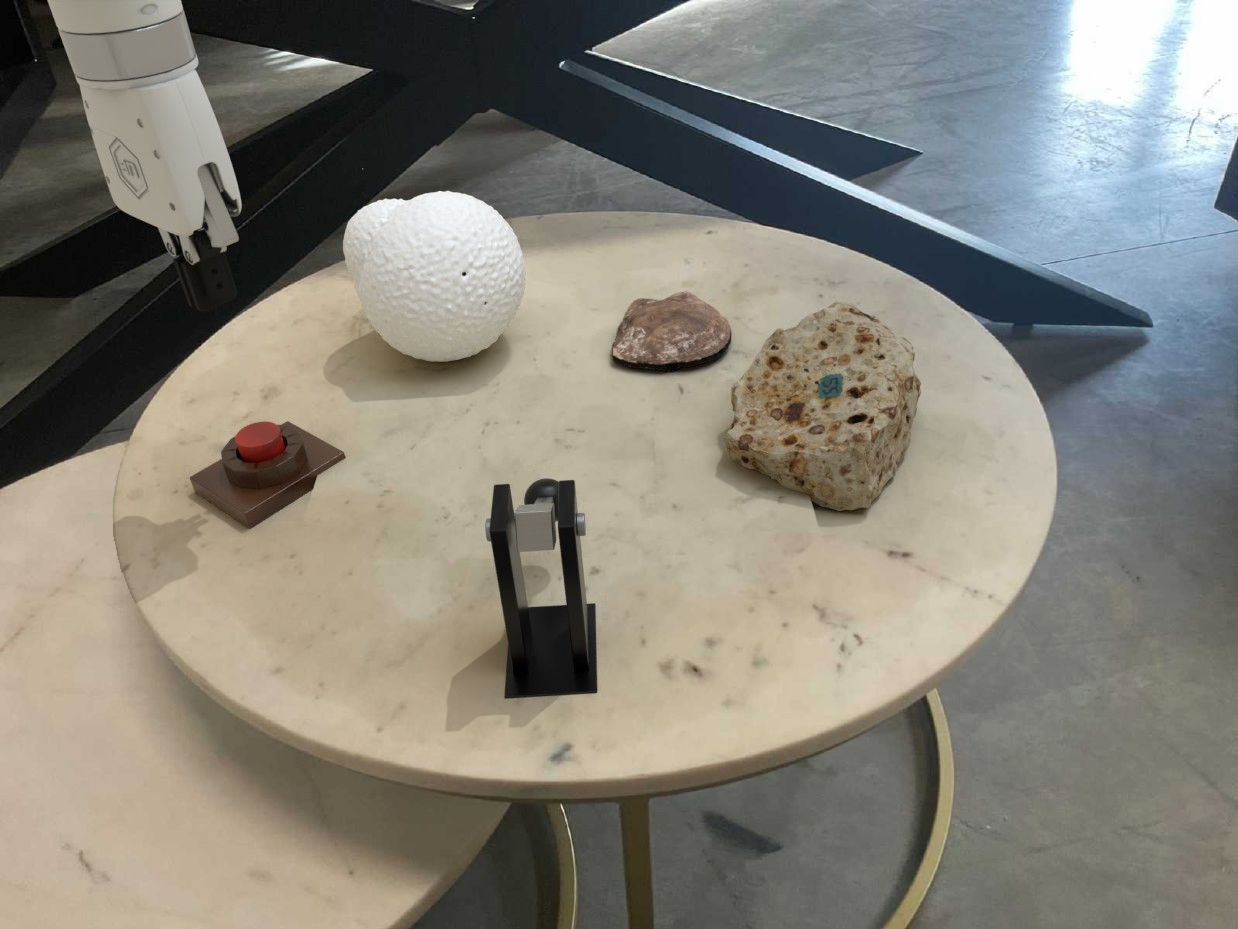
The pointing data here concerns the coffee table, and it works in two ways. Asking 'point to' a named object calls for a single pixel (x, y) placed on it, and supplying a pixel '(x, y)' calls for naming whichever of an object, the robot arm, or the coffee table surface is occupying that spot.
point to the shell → (670, 333)
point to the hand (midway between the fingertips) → (214, 301)
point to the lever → (538, 517)
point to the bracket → (544, 607)
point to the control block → (265, 476)
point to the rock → (827, 407)
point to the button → (259, 442)
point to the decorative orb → (435, 273)
